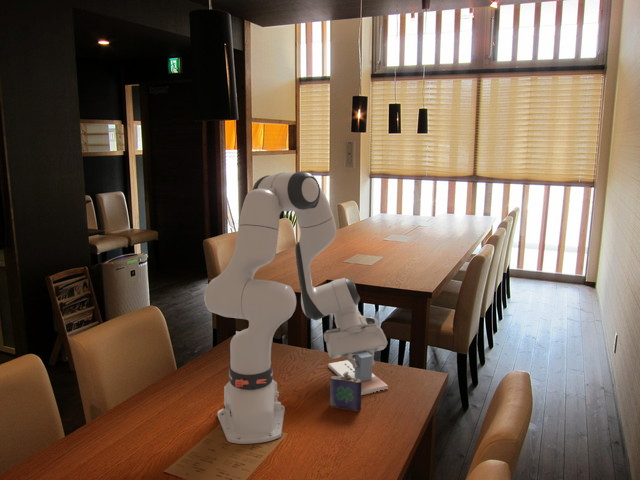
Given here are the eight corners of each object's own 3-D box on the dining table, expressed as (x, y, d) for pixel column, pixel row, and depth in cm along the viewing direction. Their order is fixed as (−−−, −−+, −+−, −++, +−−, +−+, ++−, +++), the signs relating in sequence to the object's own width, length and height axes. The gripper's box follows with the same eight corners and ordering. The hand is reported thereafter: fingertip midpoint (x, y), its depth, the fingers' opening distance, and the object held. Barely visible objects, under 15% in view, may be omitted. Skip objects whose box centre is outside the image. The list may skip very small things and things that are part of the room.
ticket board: (387, 389, 166) (388, 385, 165) (359, 395, 162) (359, 391, 161) (354, 362, 185) (354, 358, 185) (328, 366, 181) (328, 363, 181)
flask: (328, 407, 155) (329, 372, 153) (331, 402, 157) (332, 368, 155) (359, 412, 152) (361, 377, 150) (362, 407, 155) (363, 372, 153)
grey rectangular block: (371, 379, 168) (372, 356, 167) (360, 382, 167) (361, 358, 165) (365, 374, 172) (366, 351, 170) (354, 376, 170) (355, 353, 169)
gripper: (324, 326, 168) (338, 367, 161) (381, 318, 177) (395, 357, 170) (318, 335, 173) (331, 375, 166) (373, 326, 181) (387, 364, 175)
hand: (364, 366), depth 168 cm, fingers closed on grey rectangular block, 4 cm apart
